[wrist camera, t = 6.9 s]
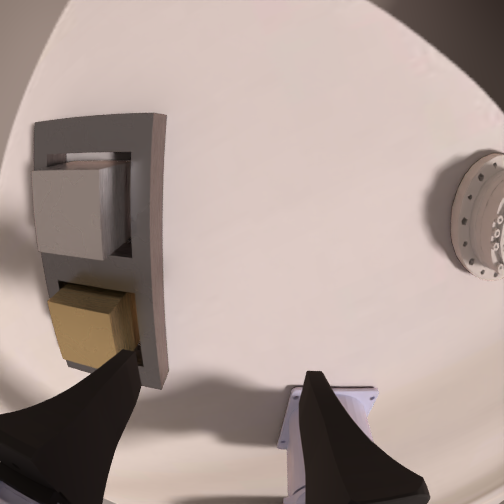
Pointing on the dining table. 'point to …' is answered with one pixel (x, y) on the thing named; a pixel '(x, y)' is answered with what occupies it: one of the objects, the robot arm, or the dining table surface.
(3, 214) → the dining table surface
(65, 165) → the silver gray cube
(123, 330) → the brushed gold cube
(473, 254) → the mechanical component
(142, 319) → the grey tray
